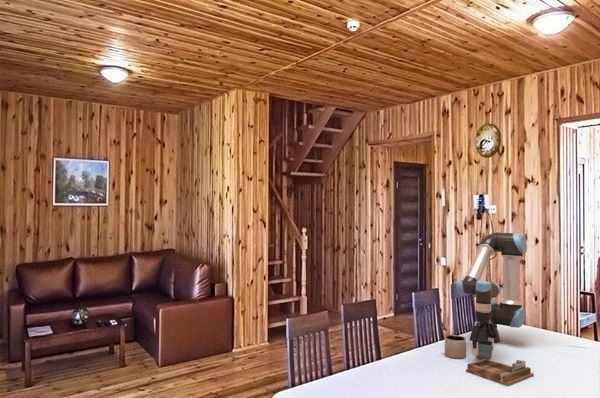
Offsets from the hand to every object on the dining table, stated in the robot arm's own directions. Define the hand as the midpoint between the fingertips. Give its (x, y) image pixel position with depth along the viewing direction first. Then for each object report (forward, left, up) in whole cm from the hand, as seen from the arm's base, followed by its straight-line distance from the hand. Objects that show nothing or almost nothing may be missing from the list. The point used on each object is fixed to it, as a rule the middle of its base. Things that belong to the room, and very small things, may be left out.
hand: (483, 352), depth 228 cm
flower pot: (0, 0, -4) cm, 4 cm away
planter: (-12, -7, -4) cm, 14 cm away
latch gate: (+23, -7, -2) cm, 24 cm away
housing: (+16, -12, -4) cm, 20 cm away
